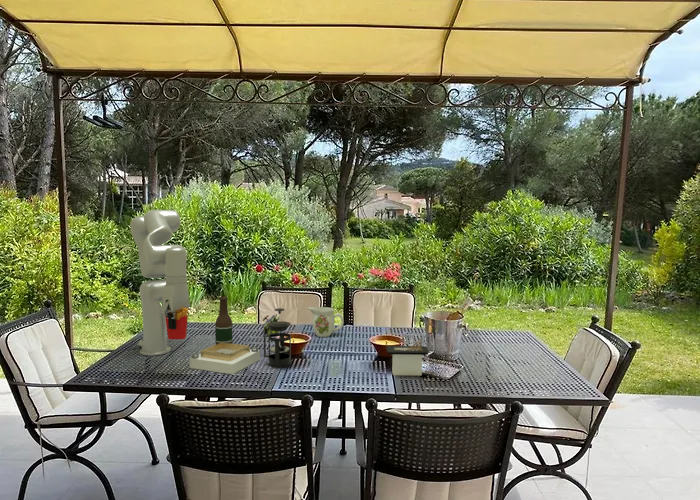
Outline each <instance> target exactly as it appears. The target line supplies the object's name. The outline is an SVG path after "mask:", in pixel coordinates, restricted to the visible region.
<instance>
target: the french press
mask: <svg viewBox="0 0 700 500" xmlns="http://www.w3.org/2000/svg"><path fill="white" fill-rule="evenodd" d="M284 311H285V308H275V309H274V312H277V315H278V316H279V320H278V321H276V322H271V323H269V324H268V325H269V326H270V330H271V331H278V332H277V333H273V334H272V333H271V334H270V335H268V334H265V335H264V336H263V356H264V358H268V363H267V364H268V366H269V367H271V368H275V369H277V368H278V369H281V368H287V367H290V366H291V365H292V361H291V360H292V359H291V358H292V350H291V349H292V347H291V346H292V345H291V344H292V343H291V342H292V340H291V339H292V337H291V334H290V333H287V332H285V331H286V330H287V329H288V328H289V326H291V325H292V323H291V322H289V321H285V320H282V321H281V313H282V312H284ZM280 331H281V333H280ZM277 337H279V338H277ZM267 338H268V354H267V352H266V351H267V346H266V345H267V341H266V339H267ZM287 341H288V342H289V345H288V346H285V342H287ZM271 342H274V346H272V347H271ZM271 353H272V354H271Z"/></svg>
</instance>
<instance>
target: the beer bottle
mask: <svg viewBox="0 0 700 500" xmlns="http://www.w3.org/2000/svg"><path fill="white" fill-rule="evenodd" d="M218 301H219V313H218V316H217V317H216V321H215V327H214V329H215V330H214V331H215V332H214V334H215V335H214V336H215V338H214V339H215V345H216V344H218V343H220V342H225V343H232V344H233V320H232V318H231V316H230V315H229V310H228V296H220V297H219V300H218Z"/></svg>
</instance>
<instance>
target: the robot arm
mask: <svg viewBox="0 0 700 500" xmlns="http://www.w3.org/2000/svg"><path fill="white" fill-rule="evenodd" d="M180 226H181V216H180V214H179V213H178V211H176V210H174V209H151V210H149V211H146V213H145V214H144V215H139V216H136V217H135V216H134V217H133V218H132V219H131V222H130V232H131V235H132V238H133V240H134V242H135V243H134V244H136V247H137V250H138V251H137V252H138V258H139V259H138V260H139V266H140V273H141V276H142V277H143V278H147V279H153V280H147V281H144V282H142V283H141V285H140V286H139V295H140V301H141V306H142V307H141V309H142V311H141V312H142V331H143V333H142V334H143V338H142V339H143V340H142V339H141V340H139V342H138V343H137V346H139V347H141V349H140V350H139V353H140V355H142V356H149V357H150V356H161V355H165V354H168V353H170V352H171V351H172V350H171V347H170V346H169V345H168V343H167V341H168V334H167V326H166V319H165V316H166V317H167V319H168V328H169V329H174V330H175V329H176V319H175V313H176V311H177V310H180V309H182V308H183V307H184V308H186V309H187V308H188V309H189V308H190V307H191V303H190V294H189V286H188V283H187V281H188V280H187V275H188V274H187V249H186V248H185V247H183V246H182V245H181V244H166V243H168V242H169V241H170V240H171V238H172V236H173V233H175V232H176V231H177V230H179V229H180ZM158 278H165V279H158ZM161 302H162V305H161V304H160V303H161ZM171 312H172V314H171Z"/></svg>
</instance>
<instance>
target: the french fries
mask: <svg viewBox="0 0 700 500" xmlns="http://www.w3.org/2000/svg"><path fill="white" fill-rule="evenodd" d="M188 311H189V308H187V309H186V308H184V307H183V308H182V309H180V310H177V311H176V313H175V319H176V329H175V330H174V329H169V328H168V319H167V317H166V316H165V319H166V334H167V340H185V339H186V338H187V333H188V331H187V329H188V319H189V315H188ZM171 314H172V312H171Z"/></svg>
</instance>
